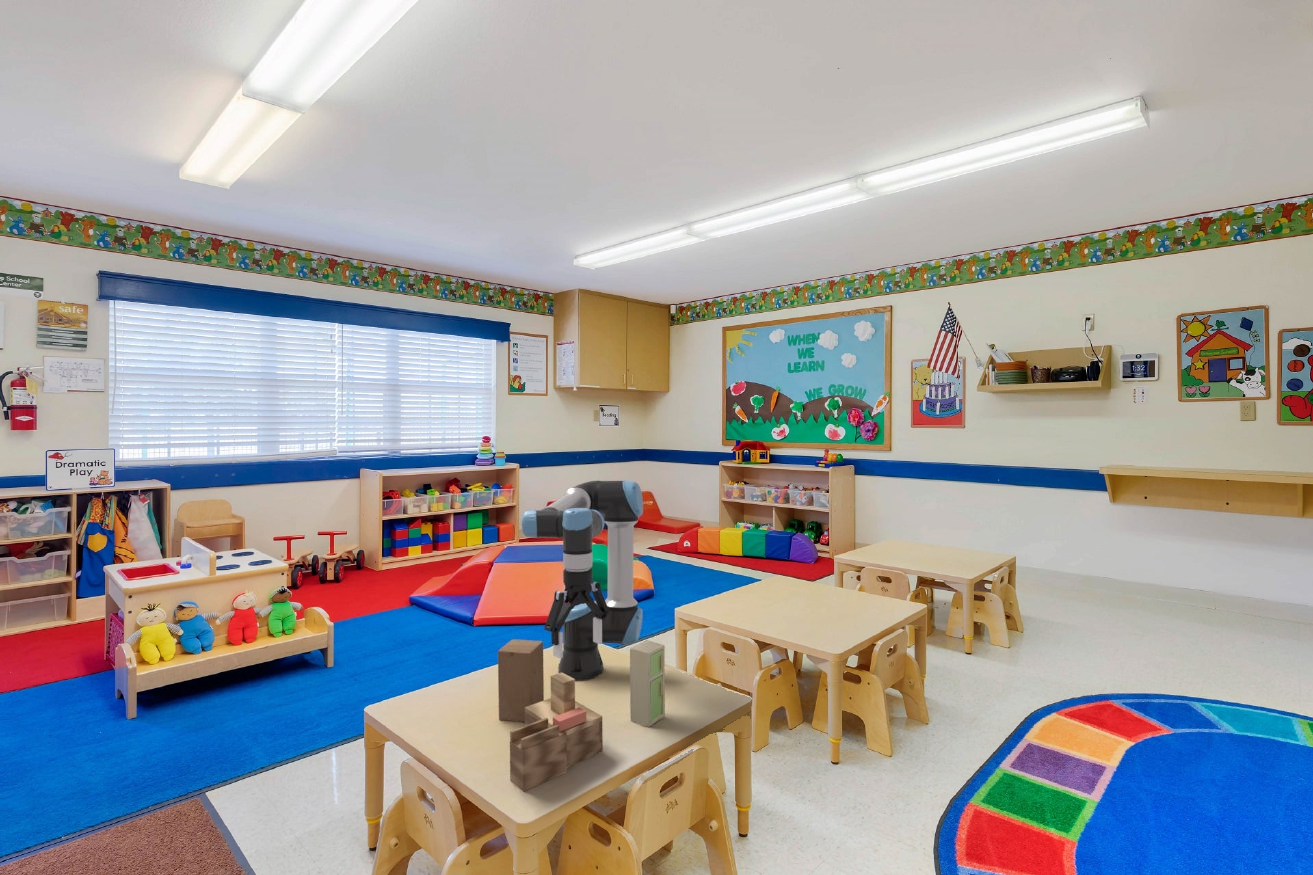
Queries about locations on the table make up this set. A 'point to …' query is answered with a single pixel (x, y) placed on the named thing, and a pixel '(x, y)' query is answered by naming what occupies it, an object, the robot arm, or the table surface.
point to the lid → (562, 704)
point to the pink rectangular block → (570, 719)
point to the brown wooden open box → (548, 750)
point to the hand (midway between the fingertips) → (578, 649)
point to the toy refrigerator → (647, 683)
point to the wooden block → (519, 678)
